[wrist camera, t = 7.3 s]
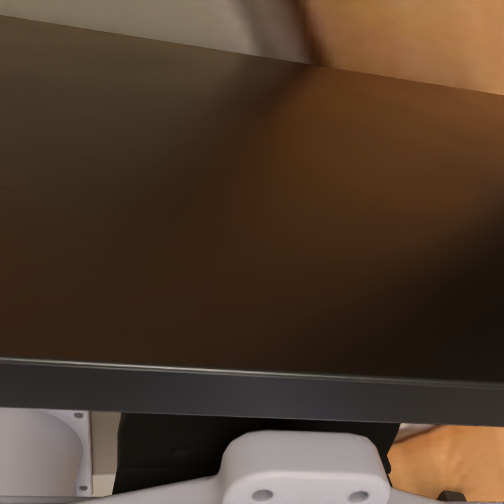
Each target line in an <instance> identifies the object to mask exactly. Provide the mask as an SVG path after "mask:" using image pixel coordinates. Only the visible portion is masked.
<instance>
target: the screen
mask: <svg viewBox="0 0 504 504" xmlns="http://www.w3.org/2000/svg"><path fill="white" fill-rule="evenodd" d="M0 408H21V409H47V410H73V411H99V412H125V413H151V414H177V415H203V416H229V417H255V418H281V419H307V420H333V421H359V422H385V423H411V424H437V425H463V426H489V427H504V95H497V94H491V93H485V92H478V91H472V90H466V89H460V88H453V87H447V86H441V85H435V84H428V83H422V82H416V81H409V80H403V79H397V78H391V77H384V76H378V75H372V74H366V73H359V72H353V71H347V70H341V69H334V68H328V67H322V66H315V65H309V64H303V63H297V62H290V61H284V60H278V59H272V58H265V57H259V56H253V55H247V54H240V53H234V52H228V51H221V50H215V49H209V48H203V47H196V46H190V45H184V44H178V43H171V42H165V41H159V40H152V39H146V38H140V37H134V36H127V35H121V34H115V33H109V32H102V31H96V30H90V29H84V28H77V27H71V26H65V25H58V24H52V23H46V22H40V21H33V20H27V19H21V18H15V17H8V16H2V15H0Z"/></svg>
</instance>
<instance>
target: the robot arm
mask: <svg viewBox="0 0 504 504" xmlns="http://www.w3.org/2000/svg"><path fill="white" fill-rule="evenodd" d="M79 412H80V413H79ZM400 424H401V423H385V422H359V421H333V420H307V419H281V418H255V417H229V416H203V415H177V414H151V413H125V412H122V413H121V418H120V424H119V429H118V448H117V472H116V477H115V482H114V487H113V492H112V495H109V496H104V497H92V494H93V483H92V482H93V481H92V480H93V479H92V457H91V434H90V412H89V411H73V410H47V409H21V408H0V504H504V502H461V501H439V500H435V499H432V498H428V497H425V496H421V495H418V494H414V493H410V492H407V491H403V490H400V489H396V488H393V487H392V484H391V481H390V478H389V476H388V474H390V472H391V466H390V463H389V460H388V458H387V454H388V452H389V450H390V448H391V445H392V443H393V441H394V439H395V437H396V435H397V433H398V431H399V427H400Z"/></svg>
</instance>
